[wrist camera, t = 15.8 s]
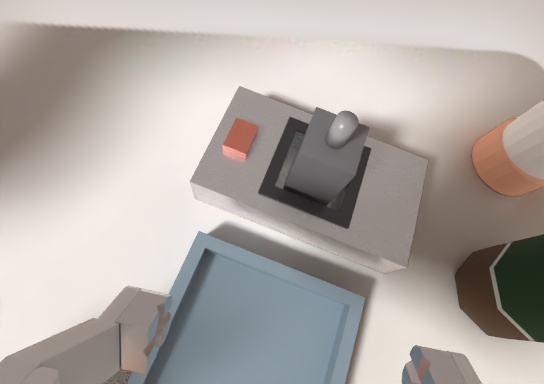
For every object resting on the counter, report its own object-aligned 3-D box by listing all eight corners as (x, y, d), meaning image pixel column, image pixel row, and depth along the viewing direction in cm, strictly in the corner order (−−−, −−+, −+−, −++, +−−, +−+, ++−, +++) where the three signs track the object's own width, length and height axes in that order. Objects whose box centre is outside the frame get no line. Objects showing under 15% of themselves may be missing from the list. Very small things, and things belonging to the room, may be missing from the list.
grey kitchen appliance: (195, 198, 28) (188, 177, 24) (238, 112, 32) (239, 79, 27) (383, 273, 28) (412, 266, 24) (405, 177, 32) (434, 155, 27)
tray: (115, 422, 22) (101, 435, 20) (201, 237, 27) (198, 230, 25) (302, 498, 22) (311, 521, 19) (353, 298, 27) (365, 297, 25)
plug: (280, 194, 28) (306, 134, 19) (294, 157, 30) (326, 84, 20) (322, 210, 28) (370, 159, 19) (334, 173, 30) (385, 107, 20)
